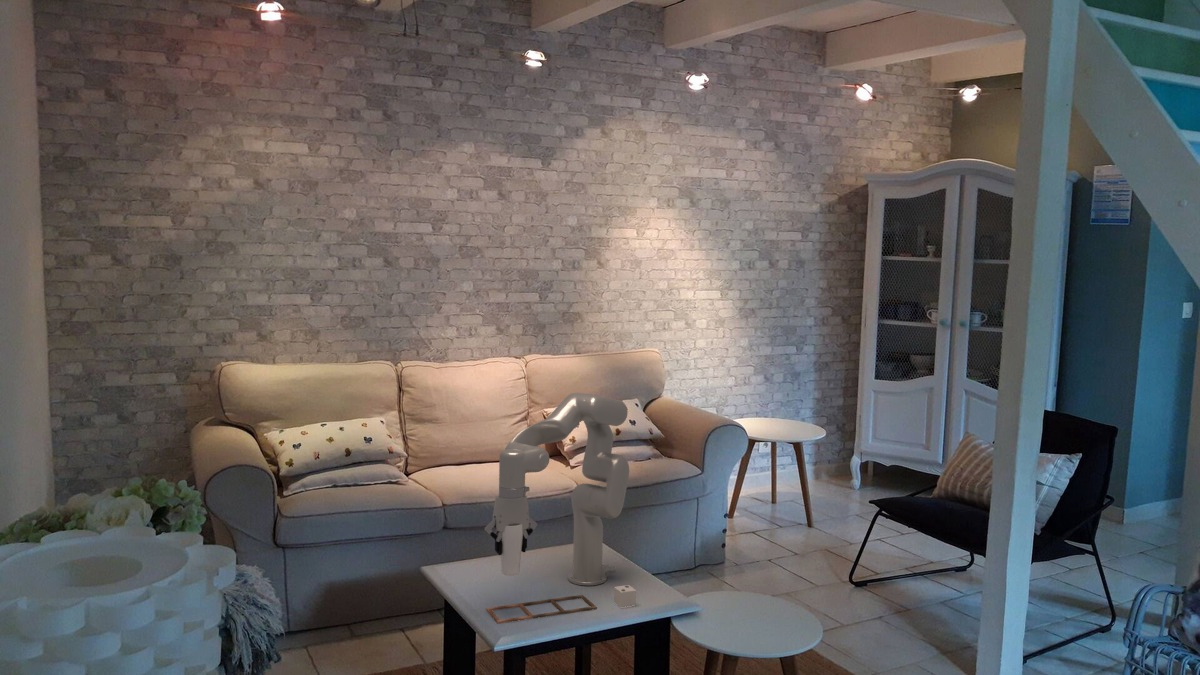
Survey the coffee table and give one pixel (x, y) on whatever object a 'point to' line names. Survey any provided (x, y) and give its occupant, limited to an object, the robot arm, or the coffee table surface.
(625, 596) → the die
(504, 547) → the drinking glass
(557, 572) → the coffee table surface
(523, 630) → the coffee table surface
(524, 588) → the coffee table surface
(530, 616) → the copper window frame
